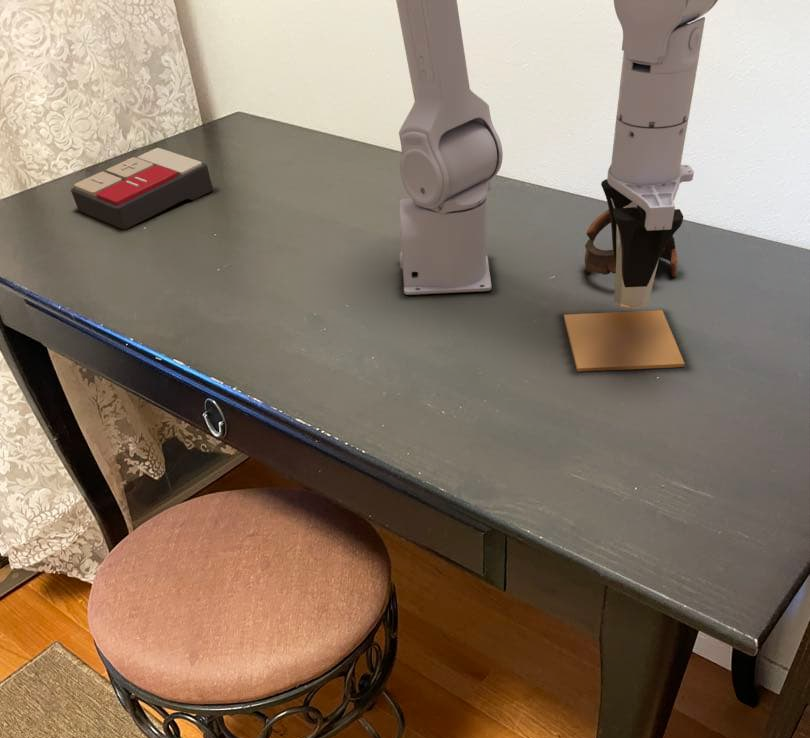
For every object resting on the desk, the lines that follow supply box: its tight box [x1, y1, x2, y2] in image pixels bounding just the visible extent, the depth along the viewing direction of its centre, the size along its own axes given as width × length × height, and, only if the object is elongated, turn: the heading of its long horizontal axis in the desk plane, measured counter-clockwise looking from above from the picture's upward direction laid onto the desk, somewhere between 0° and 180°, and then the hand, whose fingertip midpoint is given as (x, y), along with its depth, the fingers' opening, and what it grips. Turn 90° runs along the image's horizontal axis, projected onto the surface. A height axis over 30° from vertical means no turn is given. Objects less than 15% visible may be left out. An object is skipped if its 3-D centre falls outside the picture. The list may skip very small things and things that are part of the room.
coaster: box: [563, 309, 685, 372], centre depth 83 cm, size 10×10×1 cm
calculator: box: [70, 147, 214, 231], centre depth 114 cm, size 11×4×15 cm
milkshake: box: [611, 198, 660, 310], centre depth 77 cm, size 4×5×10 cm
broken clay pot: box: [584, 209, 678, 278], centre depth 92 cm, size 12×10×8 cm
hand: (630, 272), depth 78 cm, fingers closed on milkshake, 4 cm apart
